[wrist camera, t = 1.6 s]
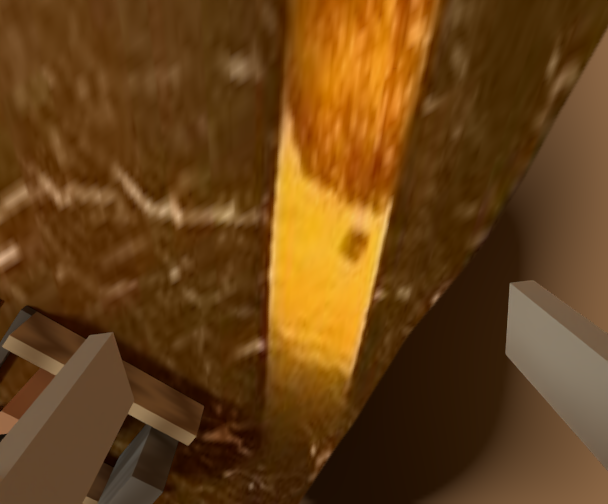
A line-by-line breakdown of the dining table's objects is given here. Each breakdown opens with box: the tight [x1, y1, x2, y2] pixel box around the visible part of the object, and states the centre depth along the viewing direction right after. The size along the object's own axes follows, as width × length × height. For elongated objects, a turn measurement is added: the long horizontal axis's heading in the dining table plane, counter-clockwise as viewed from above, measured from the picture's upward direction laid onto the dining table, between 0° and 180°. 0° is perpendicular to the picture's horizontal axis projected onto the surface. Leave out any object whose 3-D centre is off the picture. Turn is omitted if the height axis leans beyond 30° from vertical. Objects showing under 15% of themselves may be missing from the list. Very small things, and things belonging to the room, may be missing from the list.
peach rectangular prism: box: [0, 368, 56, 434], centre depth 37 cm, size 4×8×8 cm, turn 142°
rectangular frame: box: [0, 306, 204, 504], centre depth 37 cm, size 19×14×8 cm
